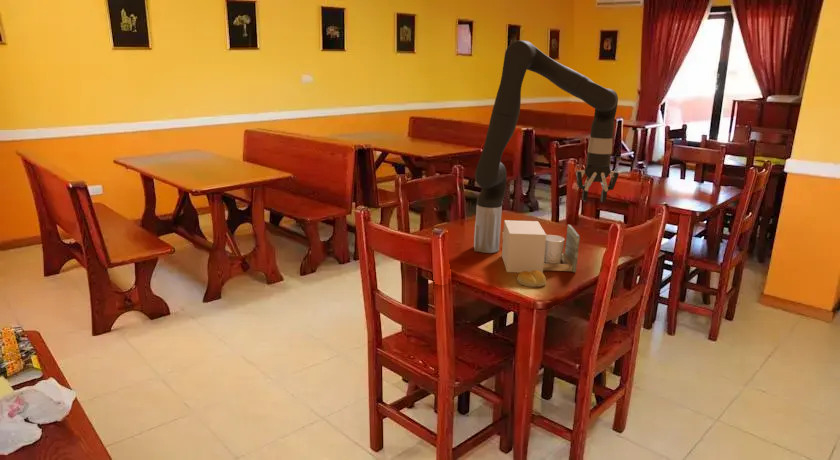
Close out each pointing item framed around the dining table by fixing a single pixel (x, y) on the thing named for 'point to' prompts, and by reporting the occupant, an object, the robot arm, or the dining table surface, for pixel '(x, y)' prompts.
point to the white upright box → (523, 246)
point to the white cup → (553, 249)
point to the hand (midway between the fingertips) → (593, 201)
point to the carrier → (567, 253)
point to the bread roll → (531, 278)
